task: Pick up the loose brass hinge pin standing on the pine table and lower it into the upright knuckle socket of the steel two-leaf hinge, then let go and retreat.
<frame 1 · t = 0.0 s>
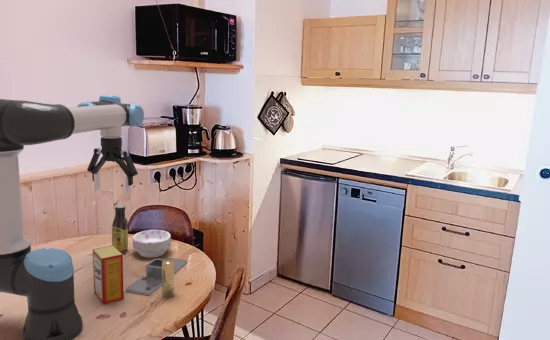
hand: (112, 191, 168), 28 cm above the table, fingers open, 13 cm apart
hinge: (159, 275, 162), on the table
sauce bottle: (120, 252, 182), on the table
paper bowls: (152, 254, 182), on the table
hinge pin: (168, 295, 148), on the table
baking soda box: (108, 296, 146), on the table
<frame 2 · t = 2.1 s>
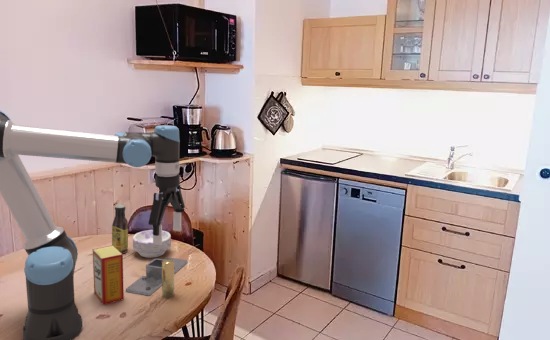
hand: (167, 237, 144), 21 cm above the table, fingers open, 13 cm apart
nothing on the table moved.
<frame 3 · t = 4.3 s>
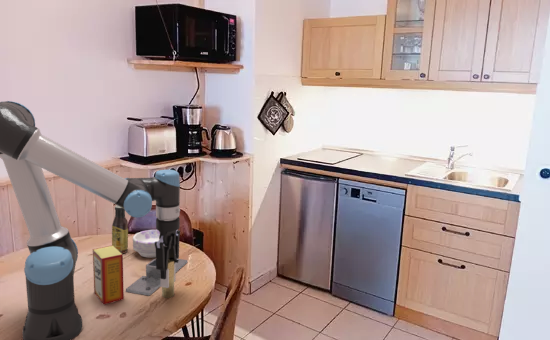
hand: (168, 283, 147), 4 cm above the table, fingers closed on hinge pin, 4 cm apart
hinge pin: (168, 294, 148), on the table, touching gripper
everything else where it was.
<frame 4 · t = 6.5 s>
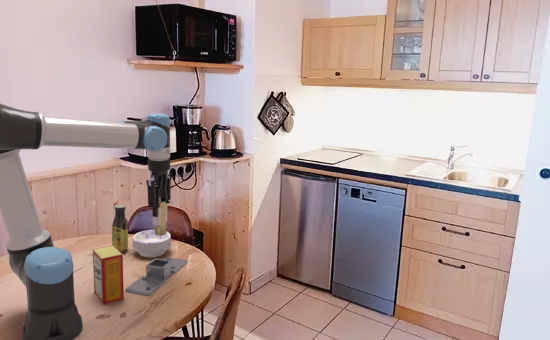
hand: (160, 222, 157), 21 cm above the table, fingers closed on hinge pin, 4 cm apart
hinge pin: (160, 233, 158), point 17 cm above the table, touching gripper
everything else where it was.
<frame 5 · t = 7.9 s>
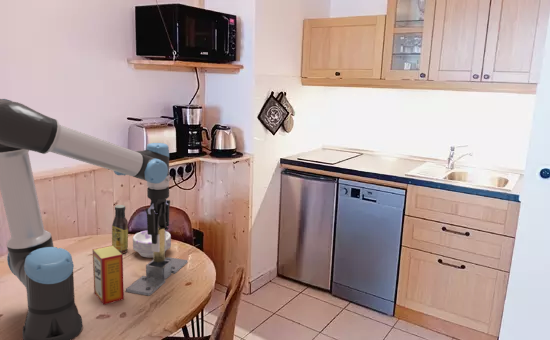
hand: (158, 248, 160), 11 cm above the table, fingers closed on hinge pin, 4 cm apart
hinge pin: (159, 259, 161), point 6 cm above the table, touching gripper
everything else where it was.
when the fingers open (7 cm above the table, at t = 8.9 s): hinge pin drops 2 cm, resting in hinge.
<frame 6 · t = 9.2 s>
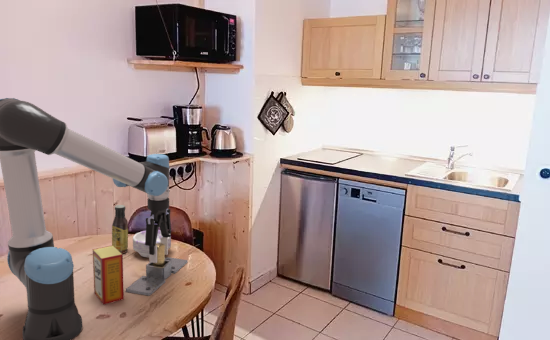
hand: (158, 257, 160), 7 cm above the table, fingers open, 7 cm apart
hinge pin: (159, 276, 162), resting in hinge
everything else where it was.
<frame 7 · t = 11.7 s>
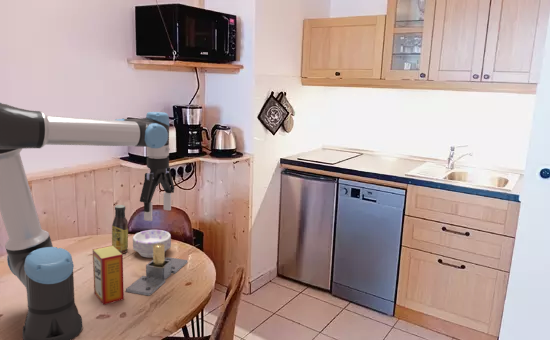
hand: (158, 215, 157), 24 cm above the table, fingers open, 13 cm apart
nothing on the table moved.
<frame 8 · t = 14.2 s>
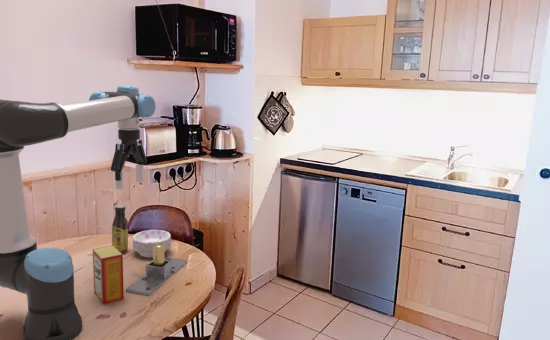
hand: (130, 185, 165), 32 cm above the table, fingers open, 13 cm apart
nothing on the table moved.
at the end: hinge pin 0.1 cm off-centre on the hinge, point 0.0 cm above the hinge's base; hinge pin tilted 0°; the gripper is holding nothing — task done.
